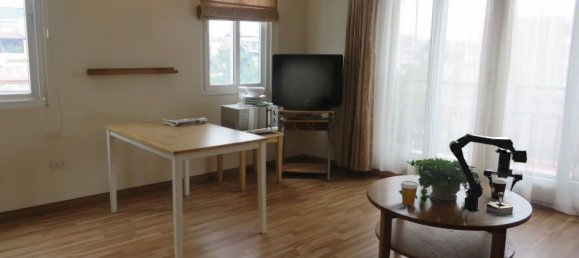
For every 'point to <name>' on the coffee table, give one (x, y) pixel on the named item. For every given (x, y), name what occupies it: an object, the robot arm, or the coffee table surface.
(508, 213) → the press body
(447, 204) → the coffee table surface
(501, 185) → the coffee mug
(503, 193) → the plunger
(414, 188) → the beer cup
